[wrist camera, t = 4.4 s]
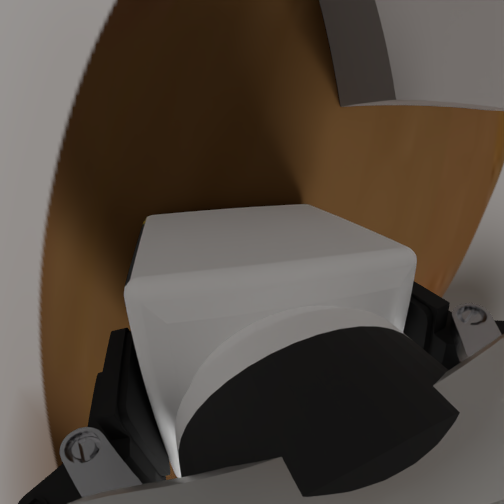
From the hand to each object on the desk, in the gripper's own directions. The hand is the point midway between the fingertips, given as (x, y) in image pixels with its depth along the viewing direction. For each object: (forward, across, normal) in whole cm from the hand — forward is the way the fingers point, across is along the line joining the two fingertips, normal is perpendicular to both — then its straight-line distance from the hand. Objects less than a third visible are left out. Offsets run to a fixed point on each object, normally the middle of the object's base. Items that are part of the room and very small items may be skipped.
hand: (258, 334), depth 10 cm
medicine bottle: (+4, 0, 0) cm, 4 cm away
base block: (+4, -12, -14) cm, 19 cm away
